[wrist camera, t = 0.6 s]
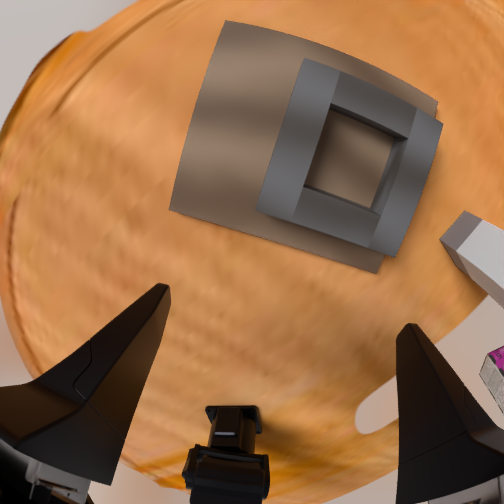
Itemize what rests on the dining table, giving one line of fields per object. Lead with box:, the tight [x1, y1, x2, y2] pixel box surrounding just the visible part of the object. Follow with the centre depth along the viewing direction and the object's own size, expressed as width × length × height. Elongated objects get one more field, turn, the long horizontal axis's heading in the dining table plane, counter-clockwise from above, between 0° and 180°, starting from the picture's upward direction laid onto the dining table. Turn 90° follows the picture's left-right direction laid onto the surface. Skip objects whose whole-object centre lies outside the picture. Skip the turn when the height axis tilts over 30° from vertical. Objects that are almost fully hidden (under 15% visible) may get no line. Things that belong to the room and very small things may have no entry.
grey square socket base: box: [169, 20, 443, 273], centre depth 19 cm, size 16×18×4 cm
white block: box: [440, 211, 504, 308], centre depth 15 cm, size 4×4×14 cm
